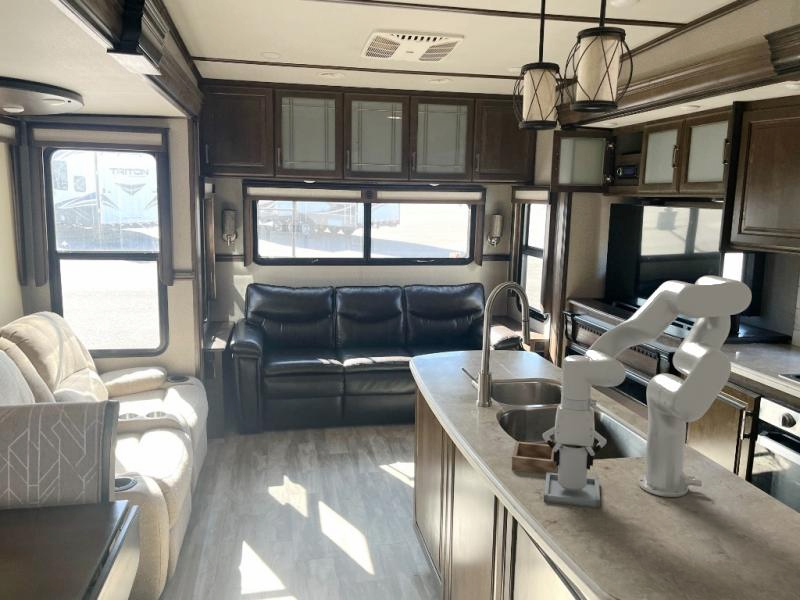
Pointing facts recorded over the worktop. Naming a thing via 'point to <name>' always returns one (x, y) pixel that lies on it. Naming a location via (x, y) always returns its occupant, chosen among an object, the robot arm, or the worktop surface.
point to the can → (572, 467)
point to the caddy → (533, 463)
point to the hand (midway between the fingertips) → (572, 465)
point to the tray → (572, 492)
